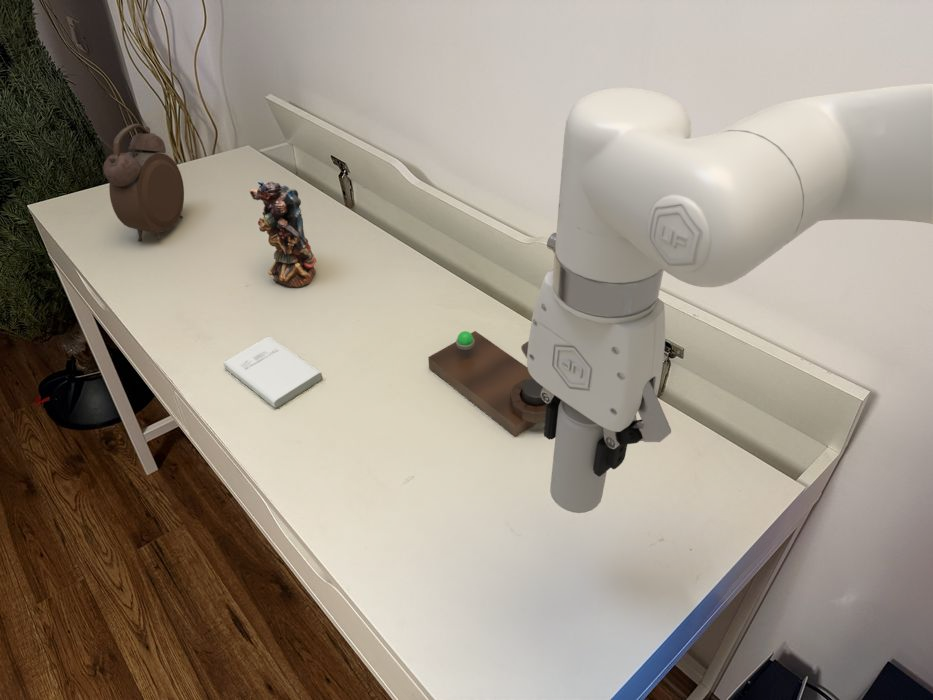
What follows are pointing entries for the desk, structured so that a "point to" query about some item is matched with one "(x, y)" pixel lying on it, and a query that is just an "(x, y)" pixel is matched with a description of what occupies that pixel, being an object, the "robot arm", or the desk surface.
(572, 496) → the beverage can
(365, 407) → the desk surface
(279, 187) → the figurine
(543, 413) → the switch box
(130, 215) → the alarm clock
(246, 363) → the hard drive
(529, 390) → the button
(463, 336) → the green lamp
